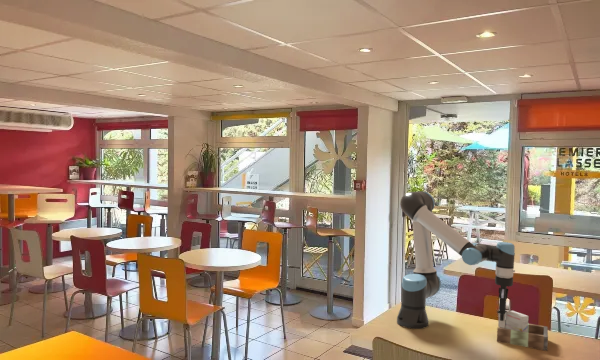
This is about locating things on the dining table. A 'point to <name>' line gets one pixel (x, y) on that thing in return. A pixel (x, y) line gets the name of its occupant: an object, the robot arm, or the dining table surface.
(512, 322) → the ink box
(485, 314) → the dining table surface
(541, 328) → the open-top container
